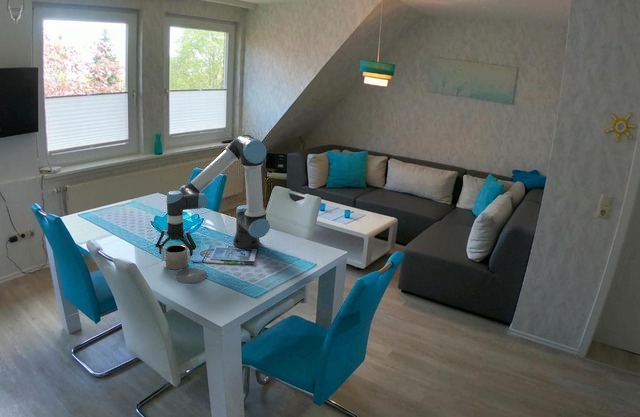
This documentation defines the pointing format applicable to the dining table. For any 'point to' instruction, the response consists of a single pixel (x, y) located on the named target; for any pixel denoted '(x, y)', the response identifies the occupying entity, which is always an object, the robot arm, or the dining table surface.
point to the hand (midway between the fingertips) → (176, 260)
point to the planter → (176, 257)
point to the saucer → (191, 275)
